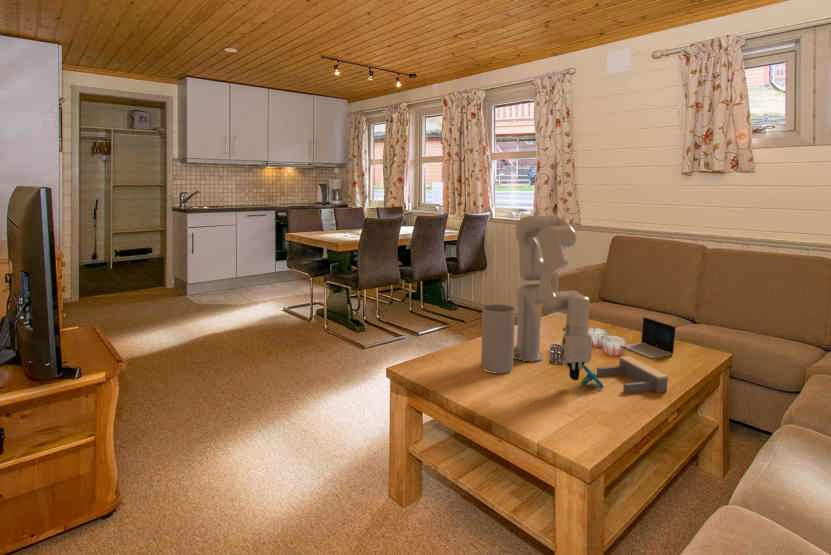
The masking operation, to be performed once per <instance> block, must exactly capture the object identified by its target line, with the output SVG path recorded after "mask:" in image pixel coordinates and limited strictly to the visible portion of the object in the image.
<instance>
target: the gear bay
mask: <svg viewBox="0 0 831 555" xmlns="http://www.w3.org/2000/svg"><path fill="white" fill-rule="evenodd" d="M596 369H597V370H596V376H597V377H607V376H617V375H626V376H627V377H629V378H631V379H632V380H634V381H636V382H628V383H623V390H622V392H623V393H625V394H633V393H642V392H643V393H644V392H650V391H653V392H655V393H656V392H658V393H666V392H665V391H667V392H668V390H667V389H668V381H669V380H668V379H669V375H667V374H665V373H663V372H661V371H659V370H658V369H656V368H654V367H651V366H649V365H648V364H645V363H644V362H642V361H640V360H637V359H636V358H635V357H632V356H629V355H624V356H619V365H613V366H602V367H601V366H600V367H597V368H596Z"/></svg>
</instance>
